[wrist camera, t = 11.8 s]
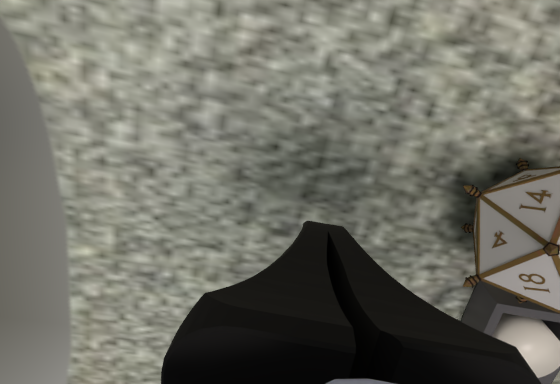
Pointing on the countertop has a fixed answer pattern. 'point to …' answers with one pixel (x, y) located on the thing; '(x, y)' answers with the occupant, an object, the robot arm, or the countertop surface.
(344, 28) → the countertop surface
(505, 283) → the game die
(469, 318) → the button box
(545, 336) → the button
